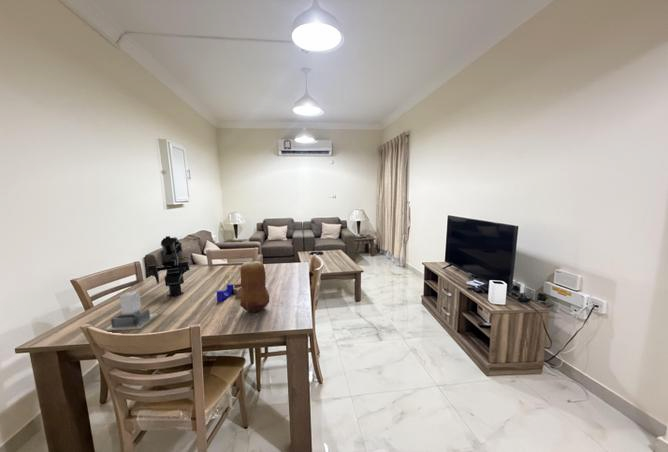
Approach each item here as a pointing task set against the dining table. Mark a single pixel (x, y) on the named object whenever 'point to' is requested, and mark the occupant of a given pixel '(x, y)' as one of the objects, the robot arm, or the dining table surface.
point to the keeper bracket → (131, 321)
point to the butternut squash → (253, 287)
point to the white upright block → (130, 304)
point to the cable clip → (225, 293)
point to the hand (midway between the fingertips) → (168, 282)
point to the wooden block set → (237, 289)
